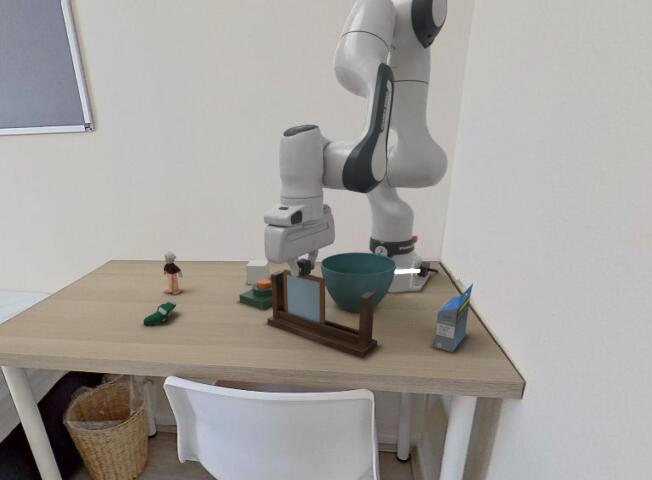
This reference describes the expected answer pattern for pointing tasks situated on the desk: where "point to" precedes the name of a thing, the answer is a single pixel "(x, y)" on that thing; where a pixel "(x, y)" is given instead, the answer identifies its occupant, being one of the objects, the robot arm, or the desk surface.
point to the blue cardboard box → (452, 322)
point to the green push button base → (257, 297)
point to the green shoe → (160, 313)
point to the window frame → (328, 332)
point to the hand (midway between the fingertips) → (303, 272)
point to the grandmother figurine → (172, 273)
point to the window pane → (304, 293)
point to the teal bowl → (357, 278)
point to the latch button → (264, 284)
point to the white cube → (257, 271)
